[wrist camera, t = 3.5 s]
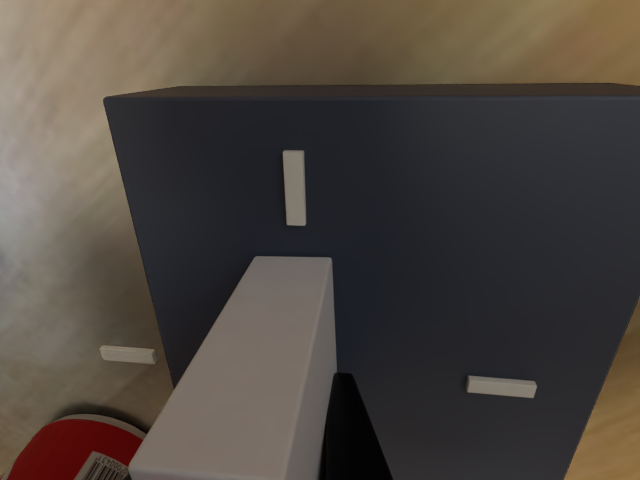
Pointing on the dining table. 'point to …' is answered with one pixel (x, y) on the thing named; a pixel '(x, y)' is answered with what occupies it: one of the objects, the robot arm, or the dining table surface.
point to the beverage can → (78, 450)
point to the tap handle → (254, 384)
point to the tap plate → (407, 246)
